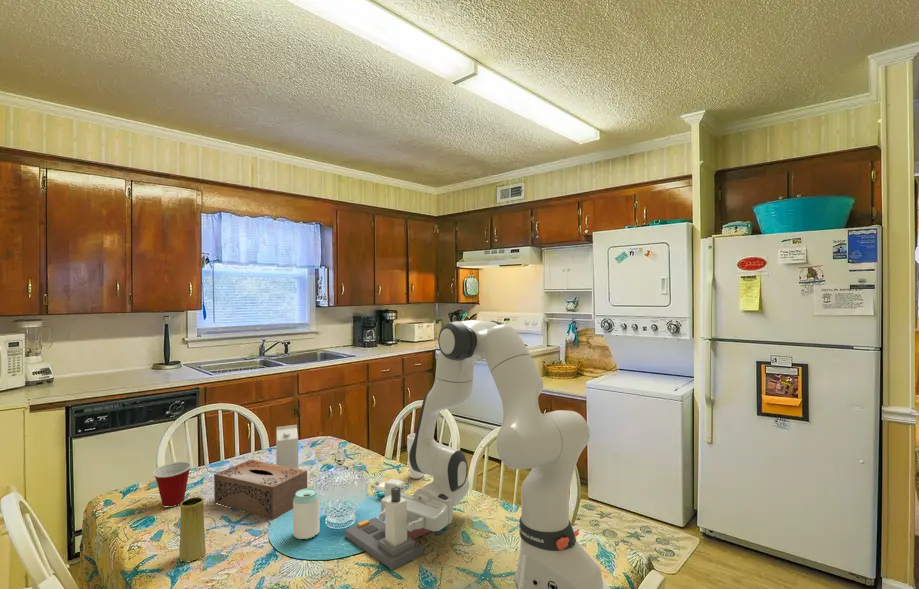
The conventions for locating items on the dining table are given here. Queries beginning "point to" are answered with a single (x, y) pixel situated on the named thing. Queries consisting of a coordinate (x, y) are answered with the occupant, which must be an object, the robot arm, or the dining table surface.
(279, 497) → the tissue box cover
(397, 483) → the power adapter
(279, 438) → the milk carton
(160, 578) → the dining table surface
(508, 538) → the dining table surface
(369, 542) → the power strip
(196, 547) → the vase
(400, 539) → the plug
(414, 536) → the rubber mat
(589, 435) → the robot arm
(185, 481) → the plastic cup
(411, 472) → the drinking glass
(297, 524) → the can
